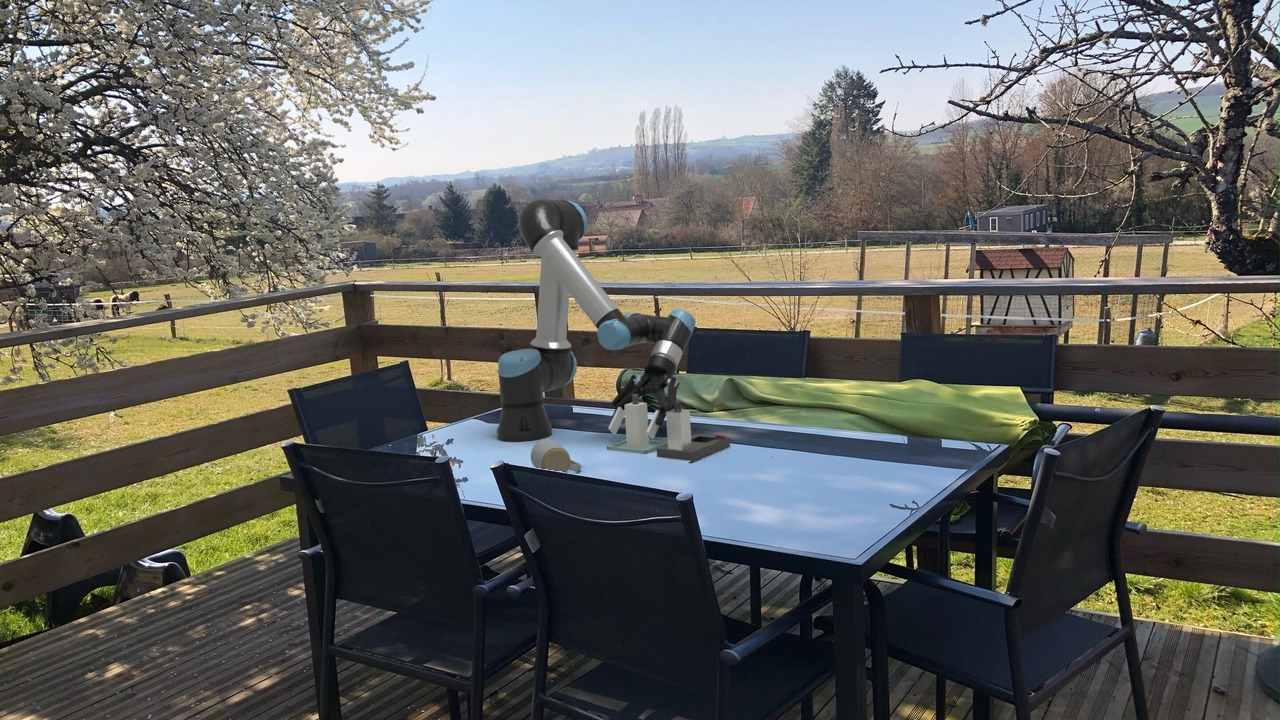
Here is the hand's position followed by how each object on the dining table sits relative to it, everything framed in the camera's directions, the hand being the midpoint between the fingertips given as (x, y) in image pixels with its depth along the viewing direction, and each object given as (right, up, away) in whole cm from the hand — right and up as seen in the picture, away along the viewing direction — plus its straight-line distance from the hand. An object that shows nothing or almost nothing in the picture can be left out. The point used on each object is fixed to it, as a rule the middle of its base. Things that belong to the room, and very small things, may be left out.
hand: (630, 433), depth 220 cm
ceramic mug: (-17, -8, -16) cm, 24 cm away
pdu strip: (+15, -4, -4) cm, 17 cm away
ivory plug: (+2, -4, +3) cm, 5 cm away
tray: (+2, -4, +3) cm, 5 cm away
